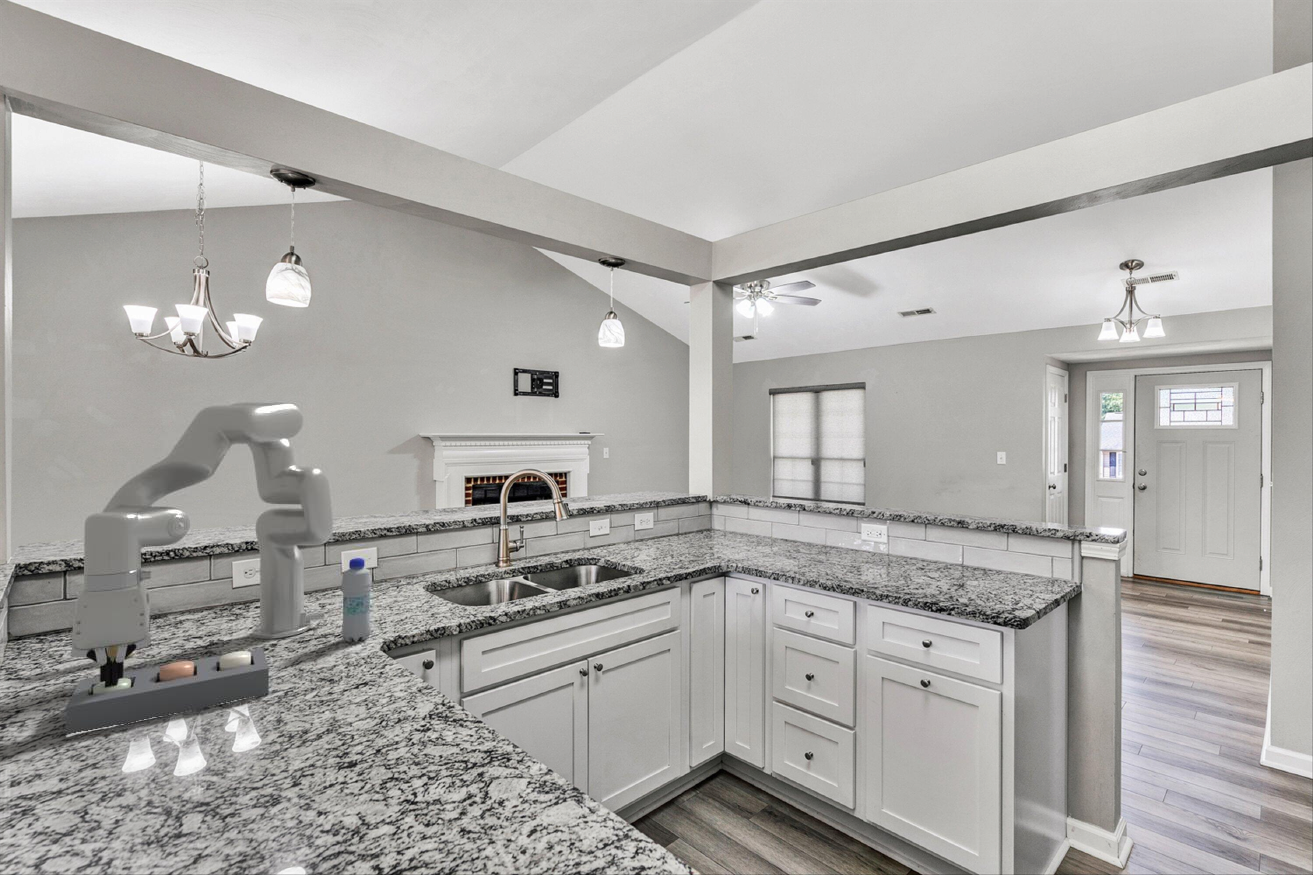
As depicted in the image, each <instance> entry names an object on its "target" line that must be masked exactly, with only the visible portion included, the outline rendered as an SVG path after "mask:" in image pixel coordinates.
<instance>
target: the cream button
mask: <svg viewBox="0 0 1313 875" xmlns="http://www.w3.org/2000/svg"><path fill="white" fill-rule="evenodd" d="M248 651H249V650H246V651H245V650H243V651H234V652H229V653H226V654H223V656H221V655H220V656H221V657H220V671H222V670H228V669H233V668H238V667H244V666H249V665H251V652H248Z"/></svg>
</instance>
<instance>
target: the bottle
mask: <svg viewBox="0 0 1313 875" xmlns="http://www.w3.org/2000/svg"><path fill="white" fill-rule="evenodd" d="M365 565H366V564H365V559H363V558H361V557H356V558H352V559H350V560H349V562H348V566H349V569H347V570H346V571H344V572H343V573H342V580H341V585H340V586H341V593H342V624H341V635H342V636H341V637H342V640H344V641H345V642H347V643H351V642H352V639H353V641H354V643H357V642H359V639H360V640H361V641H365V640H366V639H368V638H369V636H370V634H371V625H372V624H371V613H370V612H371V611H370V610H371V609H370V608H371V605H370V604H371V599H370V598H371V590H372V582H373V581H372V578H371V571H370V570H369V569H368V568H365ZM367 637H368V638H367Z"/></svg>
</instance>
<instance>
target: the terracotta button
mask: <svg viewBox="0 0 1313 875" xmlns="http://www.w3.org/2000/svg"><path fill="white" fill-rule="evenodd" d="M162 666H163V667H161V668H160V682H163V681H169V680H174V679H179V678H185V677H190V676H194V662H192V660H183V661H177V662H172V663H168V664H165V666H164V665H162Z"/></svg>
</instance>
